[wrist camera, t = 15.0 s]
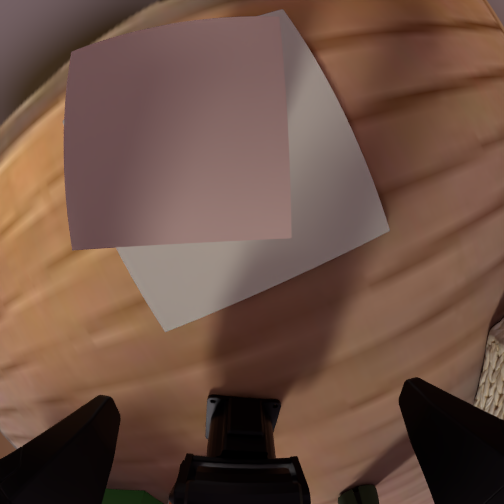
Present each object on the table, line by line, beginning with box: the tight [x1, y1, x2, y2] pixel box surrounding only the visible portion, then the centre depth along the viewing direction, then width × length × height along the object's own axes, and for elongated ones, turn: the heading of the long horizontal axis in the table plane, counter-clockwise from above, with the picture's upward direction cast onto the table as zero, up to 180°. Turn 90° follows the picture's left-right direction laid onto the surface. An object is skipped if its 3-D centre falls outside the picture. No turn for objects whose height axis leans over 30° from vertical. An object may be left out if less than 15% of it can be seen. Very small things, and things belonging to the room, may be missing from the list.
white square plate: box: [63, 9, 390, 332], centre depth 18 cm, size 18×18×1 cm
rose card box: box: [64, 16, 292, 250], centre depth 11 cm, size 5×5×12 cm
